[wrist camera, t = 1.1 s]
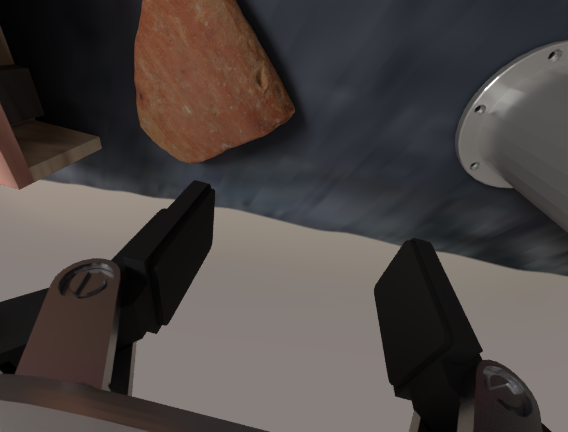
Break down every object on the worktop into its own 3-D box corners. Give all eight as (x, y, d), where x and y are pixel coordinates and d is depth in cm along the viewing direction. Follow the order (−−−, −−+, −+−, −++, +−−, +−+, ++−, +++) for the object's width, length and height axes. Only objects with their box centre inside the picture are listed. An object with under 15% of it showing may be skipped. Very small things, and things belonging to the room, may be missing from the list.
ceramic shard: (54, 51, 21) (188, -88, 17) (109, 62, 27) (219, -40, 23) (169, 196, 26) (297, 116, 22) (195, 178, 32) (300, 112, 27)
